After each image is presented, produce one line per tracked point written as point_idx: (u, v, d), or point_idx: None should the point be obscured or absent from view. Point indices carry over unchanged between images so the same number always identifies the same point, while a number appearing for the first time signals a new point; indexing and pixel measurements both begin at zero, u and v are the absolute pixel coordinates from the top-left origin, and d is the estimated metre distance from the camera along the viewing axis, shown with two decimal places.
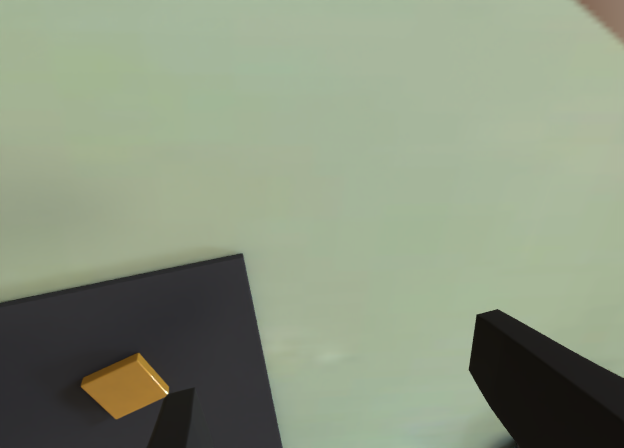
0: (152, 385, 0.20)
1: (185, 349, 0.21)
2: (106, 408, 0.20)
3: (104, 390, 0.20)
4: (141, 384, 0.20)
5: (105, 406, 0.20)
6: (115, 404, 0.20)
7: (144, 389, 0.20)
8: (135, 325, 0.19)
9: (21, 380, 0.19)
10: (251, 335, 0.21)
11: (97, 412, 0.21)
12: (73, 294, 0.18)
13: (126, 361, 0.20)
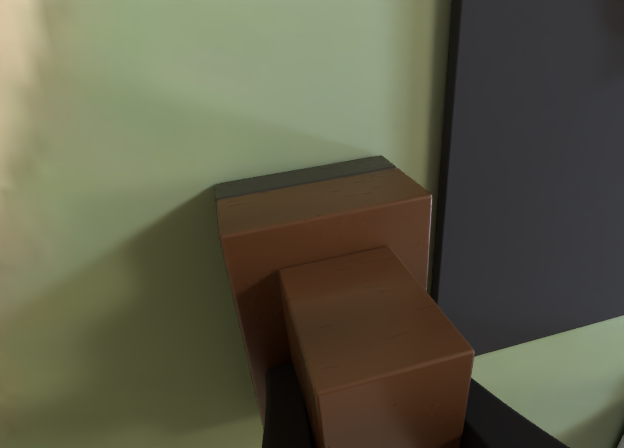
0: None
1: None
2: None
3: None
4: None
5: None
6: None
7: None
8: None
9: None
10: None
11: None
12: None
13: None
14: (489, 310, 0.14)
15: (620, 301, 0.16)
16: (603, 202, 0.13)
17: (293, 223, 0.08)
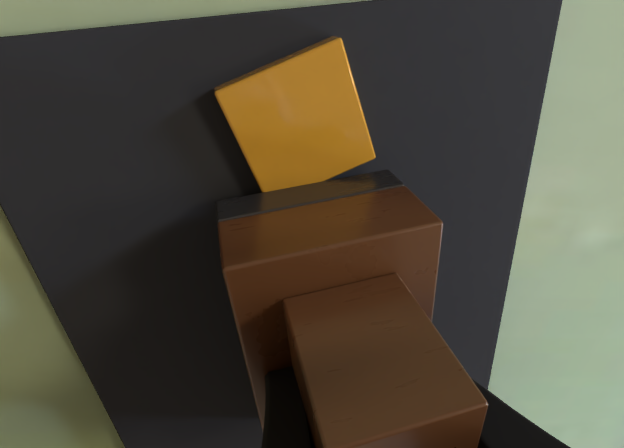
0: (354, 121, 0.10)
1: (415, 186, 0.11)
2: (256, 170, 0.10)
3: (261, 116, 0.09)
4: (334, 113, 0.09)
5: (255, 162, 0.09)
6: (275, 162, 0.10)
7: (337, 129, 0.10)
8: None
9: (135, 219, 0.10)
10: (519, 170, 0.12)
11: None
12: (262, 16, 0.09)
13: (314, 45, 0.09)
14: None
15: None
16: None
17: (299, 254, 0.08)
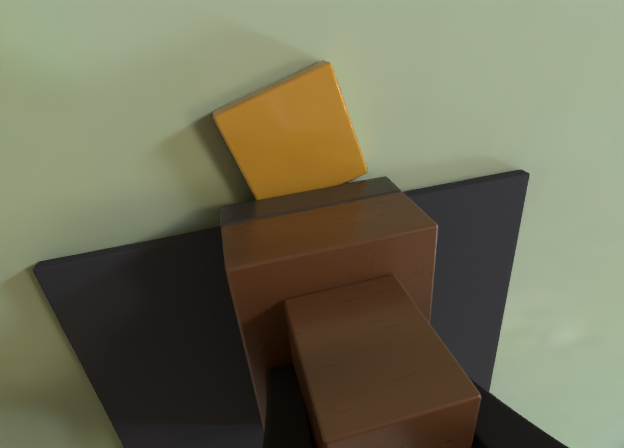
0: (346, 139, 0.10)
1: None
2: (254, 187, 0.10)
3: (257, 137, 0.10)
4: (327, 132, 0.10)
5: (253, 180, 0.10)
6: (272, 179, 0.10)
7: (329, 147, 0.10)
8: None
9: (184, 364, 0.12)
10: (497, 301, 0.15)
11: None
12: None
13: (305, 70, 0.09)
14: None
15: None
16: None
17: (299, 255, 0.08)
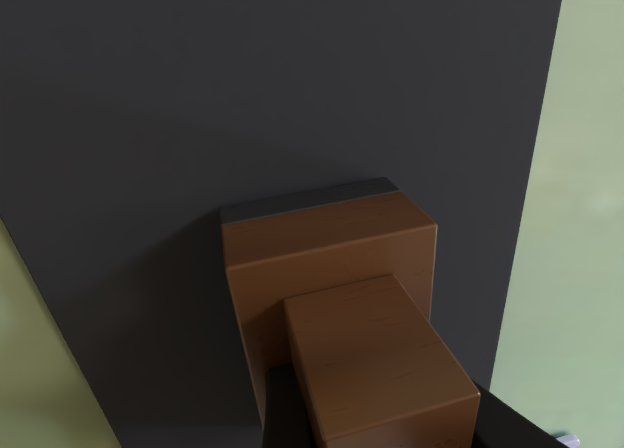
0: None
1: (416, 139, 0.11)
2: None
3: None
4: None
5: None
6: None
7: None
8: (347, 59, 0.09)
9: (114, 170, 0.09)
10: (527, 125, 0.11)
11: None
12: None
13: None
14: None
15: None
16: None
17: (298, 254, 0.08)
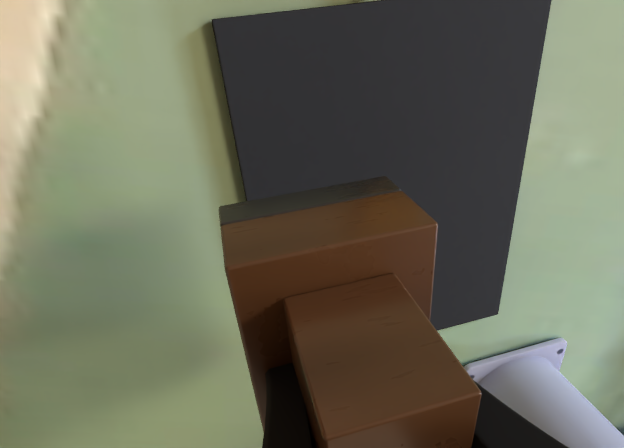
0: None
1: (461, 111, 0.18)
2: None
3: None
4: None
5: None
6: None
7: None
8: (426, 64, 0.17)
9: (298, 126, 0.17)
10: (526, 103, 0.19)
11: None
12: (382, 3, 0.15)
13: None
14: None
15: None
16: None
17: (299, 254, 0.08)
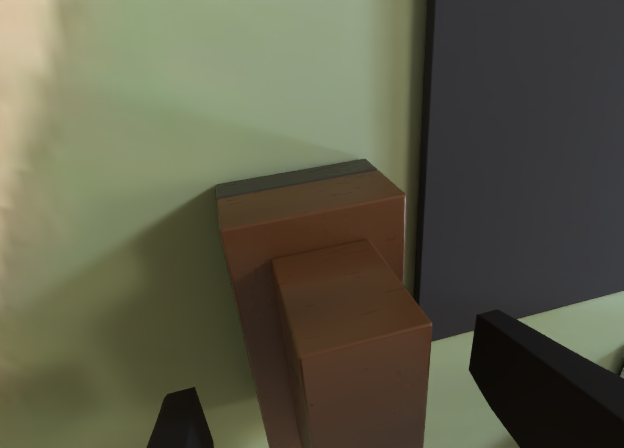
0: None
1: None
2: None
3: None
4: None
5: None
6: None
7: None
8: None
9: None
10: None
11: (587, 45, 0.12)
12: None
13: None
14: (469, 290, 0.15)
15: (595, 283, 0.17)
16: (574, 188, 0.14)
17: (283, 219, 0.09)
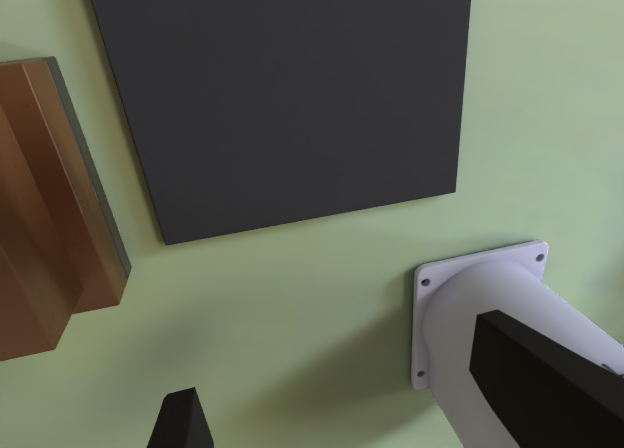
0: None
1: None
2: None
3: None
4: None
5: None
6: None
7: None
8: None
9: None
10: None
11: None
12: None
13: None
14: (202, 192, 0.17)
15: (340, 196, 0.19)
16: (276, 96, 0.16)
17: None
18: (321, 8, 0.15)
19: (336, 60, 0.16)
